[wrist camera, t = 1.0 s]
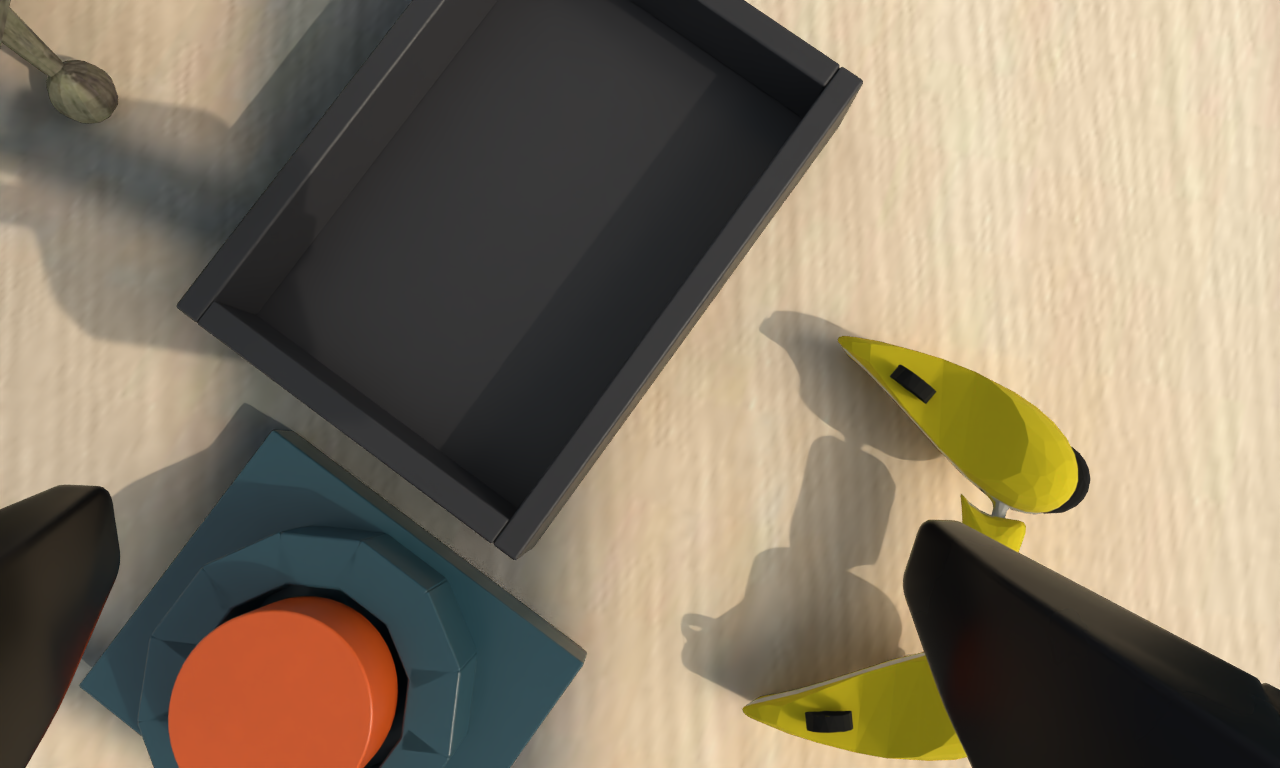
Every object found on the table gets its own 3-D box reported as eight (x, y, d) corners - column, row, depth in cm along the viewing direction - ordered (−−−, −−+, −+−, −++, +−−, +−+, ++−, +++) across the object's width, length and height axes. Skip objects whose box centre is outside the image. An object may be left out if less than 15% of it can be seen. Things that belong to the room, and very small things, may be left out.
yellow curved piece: (1010, 791, 20) (1017, 838, 17) (765, 697, 22) (730, 722, 19) (1098, 402, 21) (1120, 377, 18) (852, 354, 23) (832, 324, 20)
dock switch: (588, 652, 21) (577, 684, 18) (405, 908, 21) (363, 983, 18) (292, 430, 22) (236, 426, 19) (109, 673, 22) (21, 708, 19)
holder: (839, 125, 23) (864, 80, 20) (532, 548, 22) (515, 562, 19) (541, -79, 23) (526, -149, 21) (231, 324, 22) (173, 306, 20)
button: (436, 670, 19) (414, 692, 17) (321, 829, 19) (286, 868, 17) (289, 557, 19) (252, 567, 17) (174, 712, 19) (124, 738, 17)
